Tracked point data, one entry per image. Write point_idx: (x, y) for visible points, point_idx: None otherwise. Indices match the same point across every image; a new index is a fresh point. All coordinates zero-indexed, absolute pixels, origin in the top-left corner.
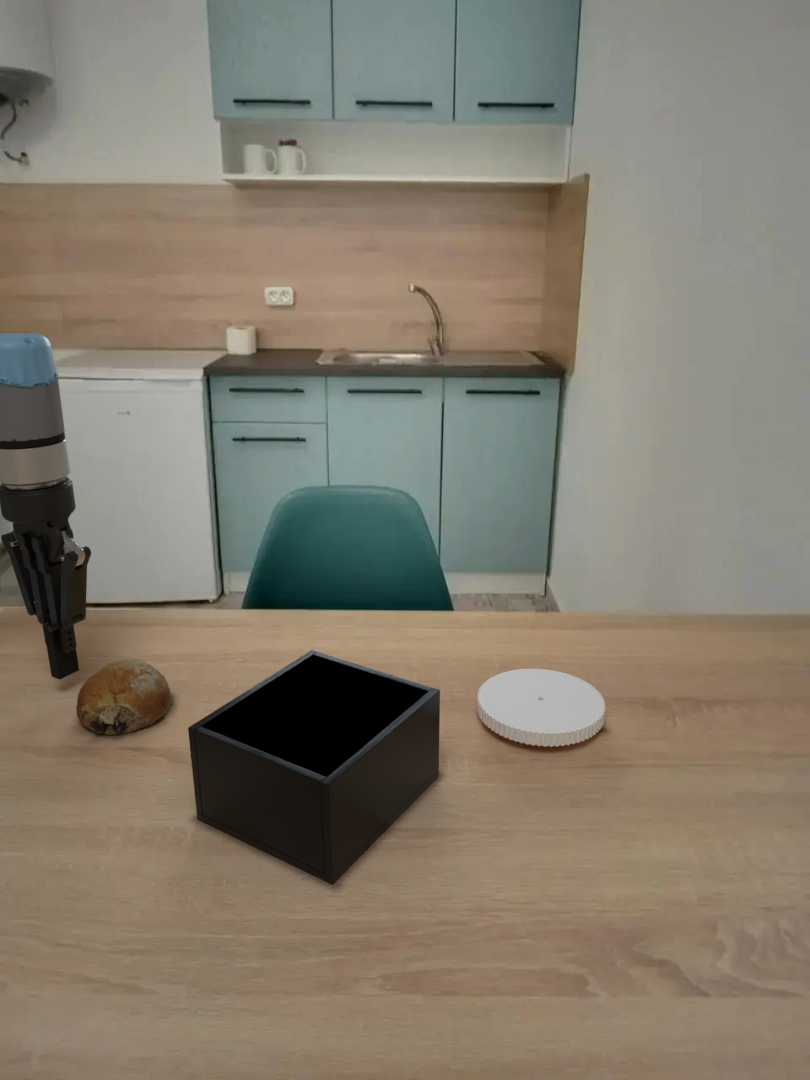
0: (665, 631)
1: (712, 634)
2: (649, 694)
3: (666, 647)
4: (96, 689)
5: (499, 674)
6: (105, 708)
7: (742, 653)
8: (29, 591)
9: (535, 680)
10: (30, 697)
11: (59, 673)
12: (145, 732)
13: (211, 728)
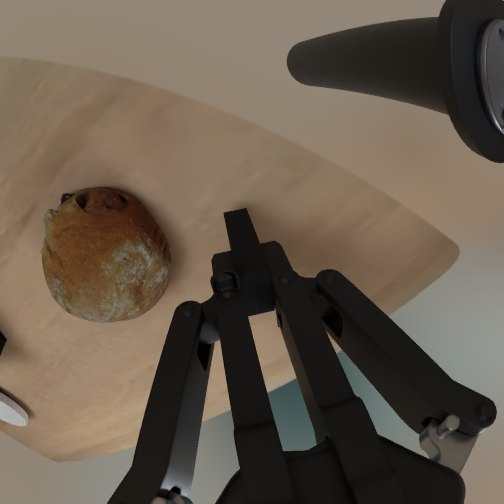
0: (64, 453)
1: (55, 453)
2: None
3: (50, 446)
4: (66, 240)
5: (23, 418)
6: (48, 227)
7: (37, 447)
8: (348, 321)
9: (13, 418)
10: (259, 163)
11: (225, 219)
12: None
13: None
